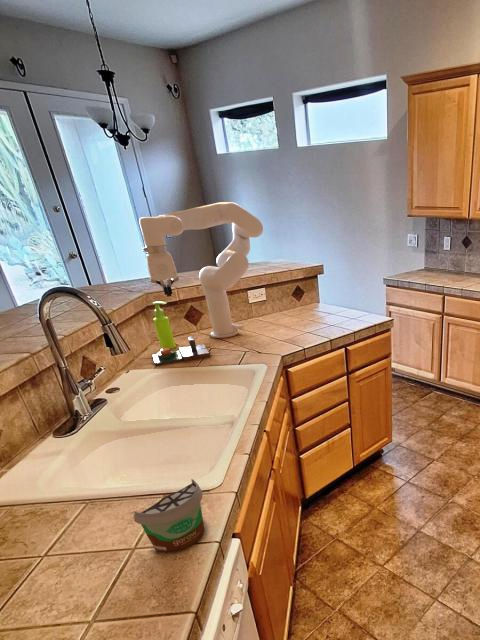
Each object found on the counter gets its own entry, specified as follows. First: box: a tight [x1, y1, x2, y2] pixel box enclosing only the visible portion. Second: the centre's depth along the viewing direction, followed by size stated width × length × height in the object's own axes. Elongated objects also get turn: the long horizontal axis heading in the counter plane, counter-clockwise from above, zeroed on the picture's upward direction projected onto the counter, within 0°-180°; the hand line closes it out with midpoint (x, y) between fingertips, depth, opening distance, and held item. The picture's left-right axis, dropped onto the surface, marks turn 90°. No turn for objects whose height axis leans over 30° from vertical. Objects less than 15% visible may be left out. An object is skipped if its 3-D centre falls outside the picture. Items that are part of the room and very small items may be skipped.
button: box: [159, 348, 171, 354], centre depth 176 cm, size 4×4×2 cm
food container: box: [133, 478, 205, 554], centre depth 80 cm, size 12×6×10 cm, turn 148°
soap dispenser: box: [151, 301, 177, 350], centre depth 187 cm, size 6×7×20 cm
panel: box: [178, 344, 211, 362], centre depth 181 cm, size 10×14×2 cm
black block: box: [187, 336, 197, 352], centre depth 180 cm, size 5×2×5 cm, turn 31°
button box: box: [152, 349, 184, 367], centre depth 176 cm, size 10×12×3 cm
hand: (169, 296), depth 183 cm, fingers closed
